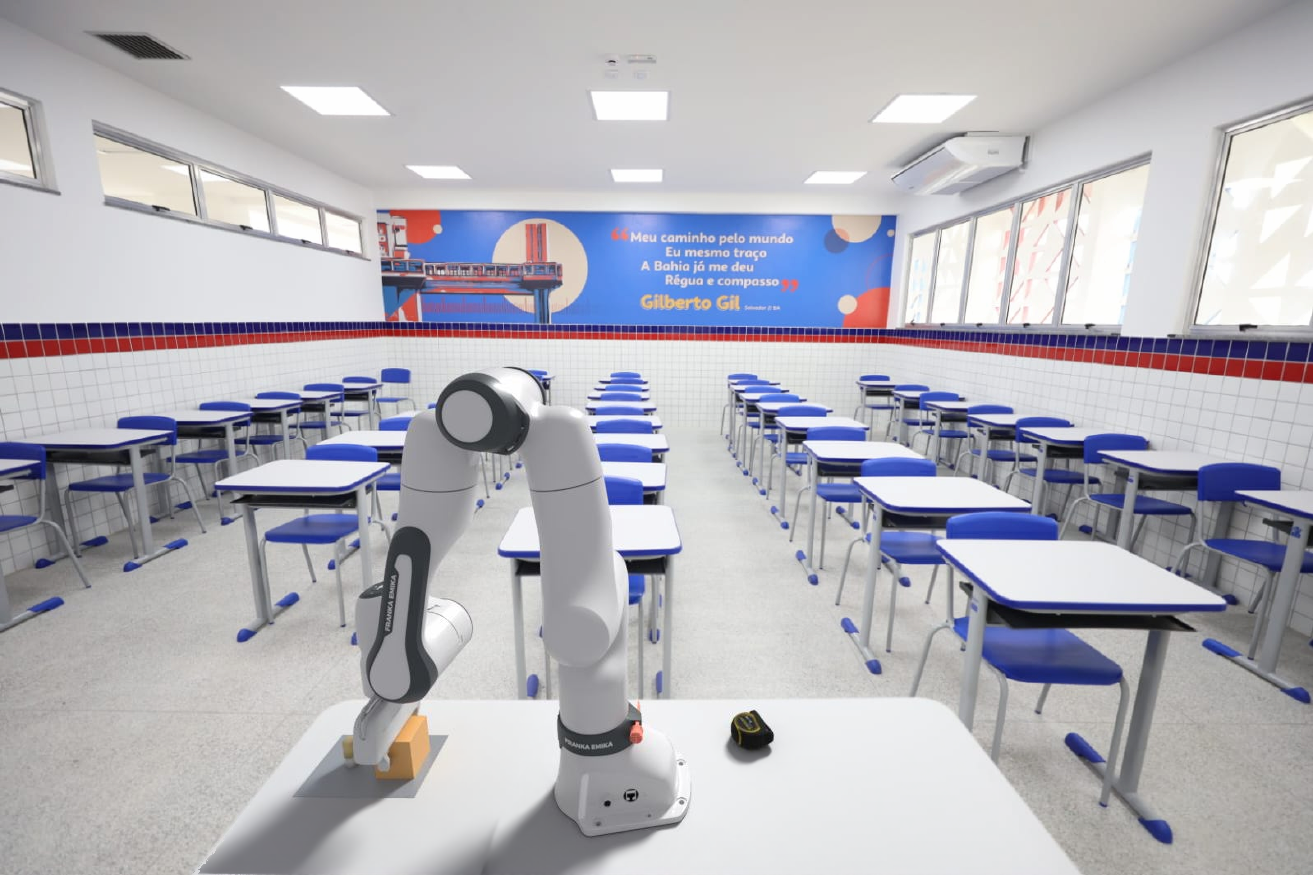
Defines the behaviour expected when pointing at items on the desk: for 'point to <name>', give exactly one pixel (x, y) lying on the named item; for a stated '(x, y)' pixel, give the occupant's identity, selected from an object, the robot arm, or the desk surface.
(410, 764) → the amber rectangular brick
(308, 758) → the desk surface
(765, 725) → the tape measure
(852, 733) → the desk surface
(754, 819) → the desk surface
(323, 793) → the plate
